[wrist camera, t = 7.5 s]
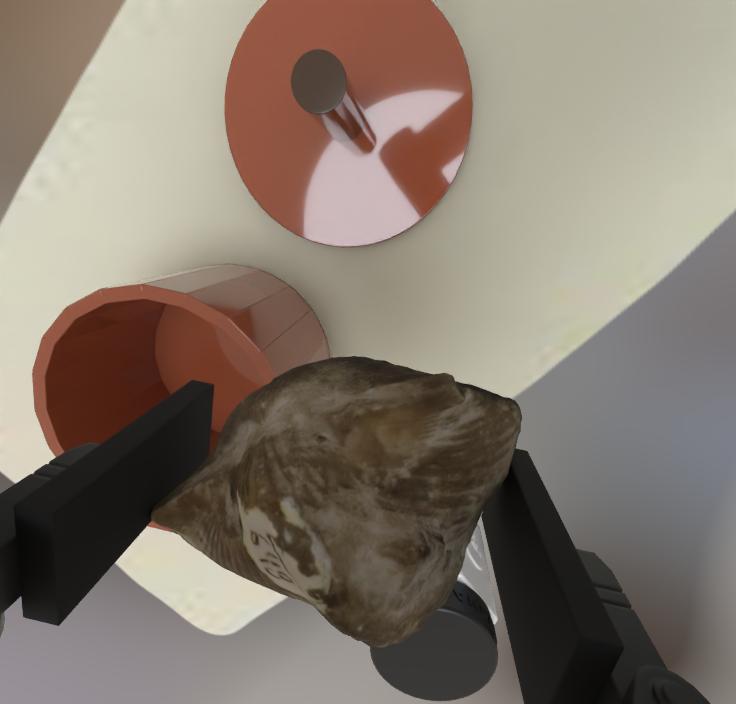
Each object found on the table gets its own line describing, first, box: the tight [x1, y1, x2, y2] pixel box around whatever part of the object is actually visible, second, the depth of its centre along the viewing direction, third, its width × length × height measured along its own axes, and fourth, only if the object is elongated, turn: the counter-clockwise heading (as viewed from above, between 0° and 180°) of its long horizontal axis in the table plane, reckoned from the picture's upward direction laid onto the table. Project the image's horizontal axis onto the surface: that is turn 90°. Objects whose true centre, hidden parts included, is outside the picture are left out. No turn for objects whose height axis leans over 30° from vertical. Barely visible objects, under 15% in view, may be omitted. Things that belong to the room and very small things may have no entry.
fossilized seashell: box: [151, 356, 522, 647], centre depth 12 cm, size 8×7×10 cm
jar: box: [370, 524, 498, 701], centre depth 33 cm, size 9×8×12 cm
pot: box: [32, 264, 330, 532], centre depth 30 cm, size 16×16×12 cm
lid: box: [225, 0, 472, 247], centre depth 25 cm, size 17×17×9 cm
